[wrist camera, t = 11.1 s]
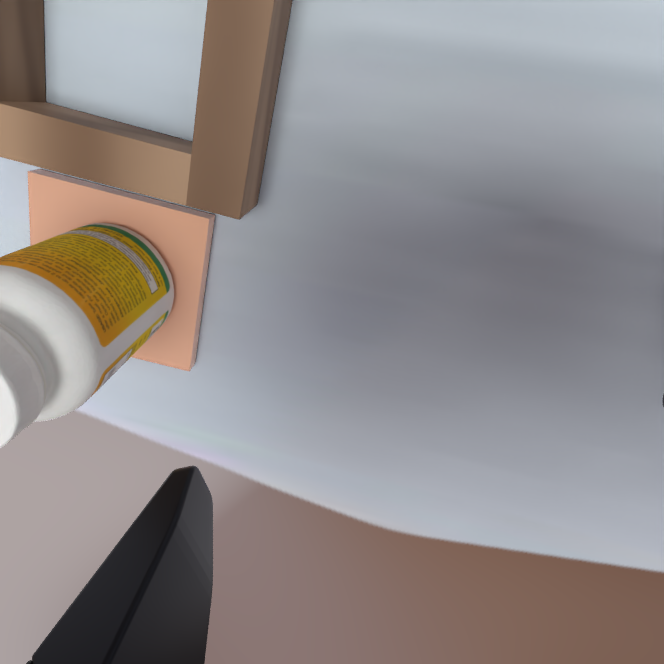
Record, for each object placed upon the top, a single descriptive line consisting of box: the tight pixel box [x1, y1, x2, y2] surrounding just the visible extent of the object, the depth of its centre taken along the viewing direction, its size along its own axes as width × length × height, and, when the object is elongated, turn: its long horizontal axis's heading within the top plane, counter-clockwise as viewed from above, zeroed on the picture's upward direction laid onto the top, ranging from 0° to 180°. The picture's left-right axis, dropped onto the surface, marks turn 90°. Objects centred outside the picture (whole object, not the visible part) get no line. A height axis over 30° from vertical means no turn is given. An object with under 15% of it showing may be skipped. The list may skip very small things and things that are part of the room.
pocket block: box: [0, 0, 292, 220], centre depth 16 cm, size 11×11×3 cm
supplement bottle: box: [0, 223, 174, 448], centre depth 17 cm, size 5×5×10 cm
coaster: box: [28, 169, 215, 371], centre depth 21 cm, size 8×8×1 cm
